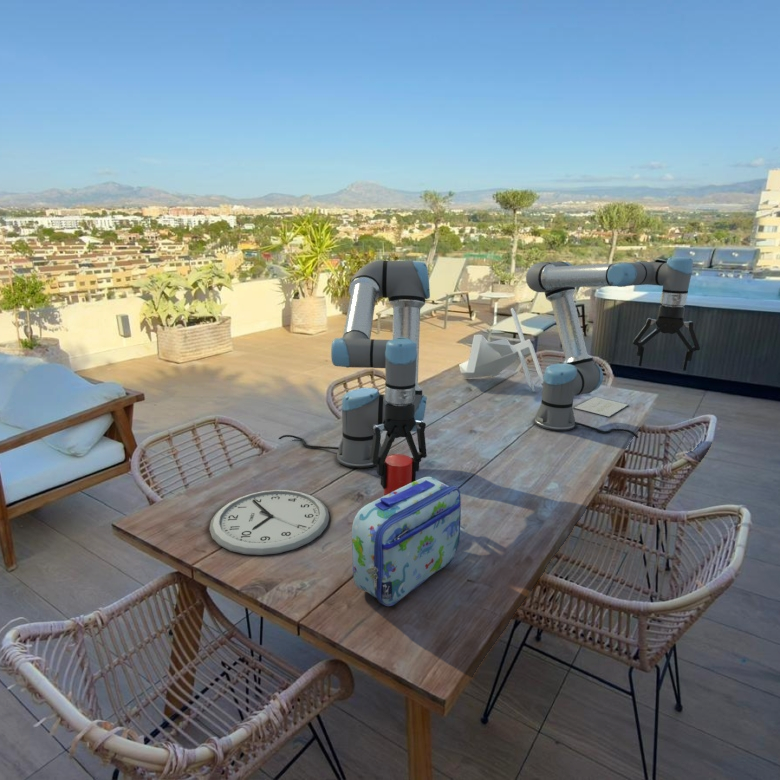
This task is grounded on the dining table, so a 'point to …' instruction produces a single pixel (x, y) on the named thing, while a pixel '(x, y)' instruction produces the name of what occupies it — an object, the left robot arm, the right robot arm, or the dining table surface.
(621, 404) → the invitation card
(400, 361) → the left robot arm
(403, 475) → the tin
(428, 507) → the lunch box
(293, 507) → the wall clock
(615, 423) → the dining table surface
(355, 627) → the dining table surface
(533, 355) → the white plastic object
